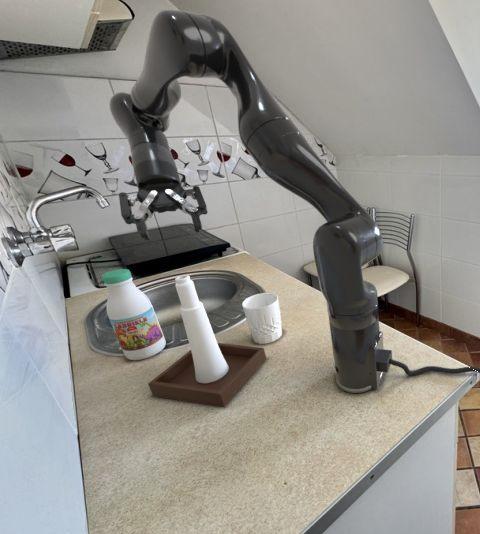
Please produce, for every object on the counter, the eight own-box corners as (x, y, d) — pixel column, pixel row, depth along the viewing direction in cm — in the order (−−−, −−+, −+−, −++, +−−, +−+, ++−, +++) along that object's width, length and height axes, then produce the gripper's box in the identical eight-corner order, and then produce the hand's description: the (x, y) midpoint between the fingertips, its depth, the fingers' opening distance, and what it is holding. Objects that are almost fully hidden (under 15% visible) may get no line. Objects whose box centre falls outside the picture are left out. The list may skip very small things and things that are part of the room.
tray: (266, 359, 71) (263, 347, 70) (224, 407, 59) (220, 394, 58) (205, 352, 74) (202, 340, 73) (153, 396, 62) (147, 383, 61)
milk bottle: (123, 350, 75) (89, 272, 67) (163, 336, 80) (135, 262, 72) (128, 366, 70) (91, 283, 62) (170, 350, 75) (141, 272, 67)
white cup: (273, 347, 75) (265, 310, 71) (243, 343, 77) (234, 307, 73) (290, 328, 82) (284, 294, 79) (263, 325, 84) (255, 291, 80)
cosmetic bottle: (202, 366, 69) (171, 272, 60) (232, 361, 70) (206, 269, 61) (191, 386, 63) (155, 286, 55) (224, 381, 64) (193, 282, 56)
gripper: (106, 160, 62) (121, 230, 58) (192, 156, 70) (210, 218, 65) (119, 185, 68) (134, 250, 64) (197, 178, 76) (214, 237, 71)
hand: (172, 234), depth 65 cm, fingers open, 8 cm apart
